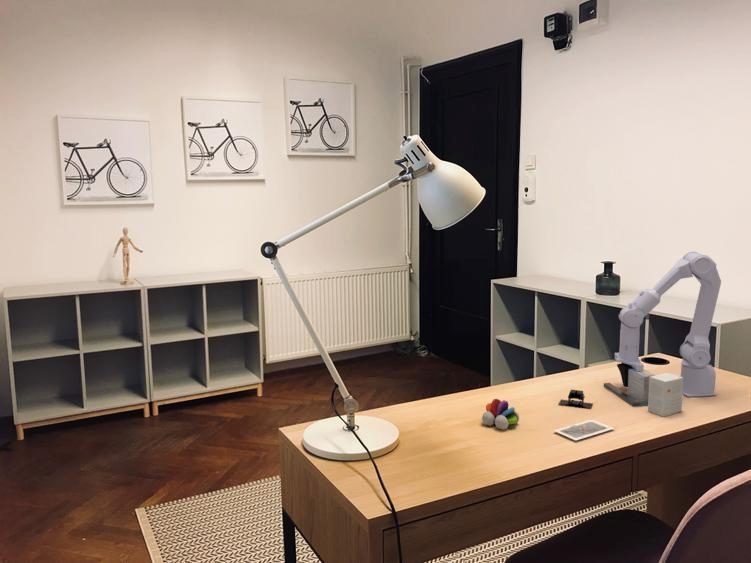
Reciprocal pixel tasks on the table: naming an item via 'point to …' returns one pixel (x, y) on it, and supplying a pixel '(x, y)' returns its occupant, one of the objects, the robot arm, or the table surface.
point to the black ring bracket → (577, 404)
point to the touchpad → (583, 429)
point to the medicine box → (639, 384)
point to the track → (625, 396)
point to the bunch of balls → (500, 414)
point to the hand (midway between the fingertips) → (627, 386)
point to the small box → (665, 394)
